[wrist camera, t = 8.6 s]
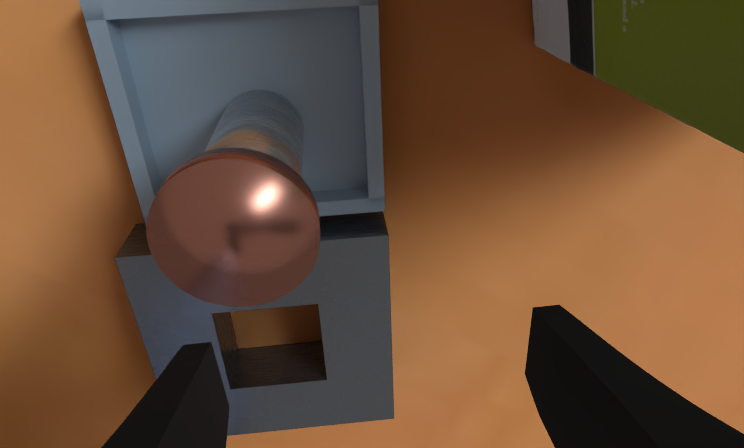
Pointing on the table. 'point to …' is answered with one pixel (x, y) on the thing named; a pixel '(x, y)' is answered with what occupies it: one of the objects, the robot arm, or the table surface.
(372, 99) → the tray
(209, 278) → the pin
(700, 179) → the table surface
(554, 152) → the table surface
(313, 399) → the hitch block
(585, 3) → the tea box
